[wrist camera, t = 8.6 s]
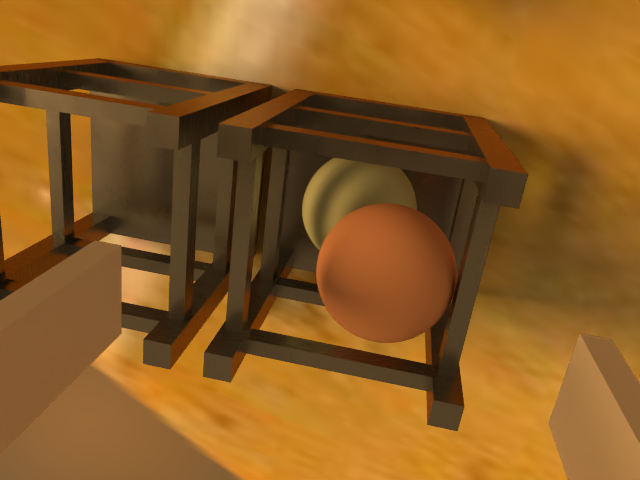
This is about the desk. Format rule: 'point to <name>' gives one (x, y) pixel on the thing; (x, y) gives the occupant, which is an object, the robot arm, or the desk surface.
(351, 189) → the ball sage
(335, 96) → the dark open frame crate
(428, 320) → the ball terracotta
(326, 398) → the desk surface
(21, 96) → the wireframe cube
